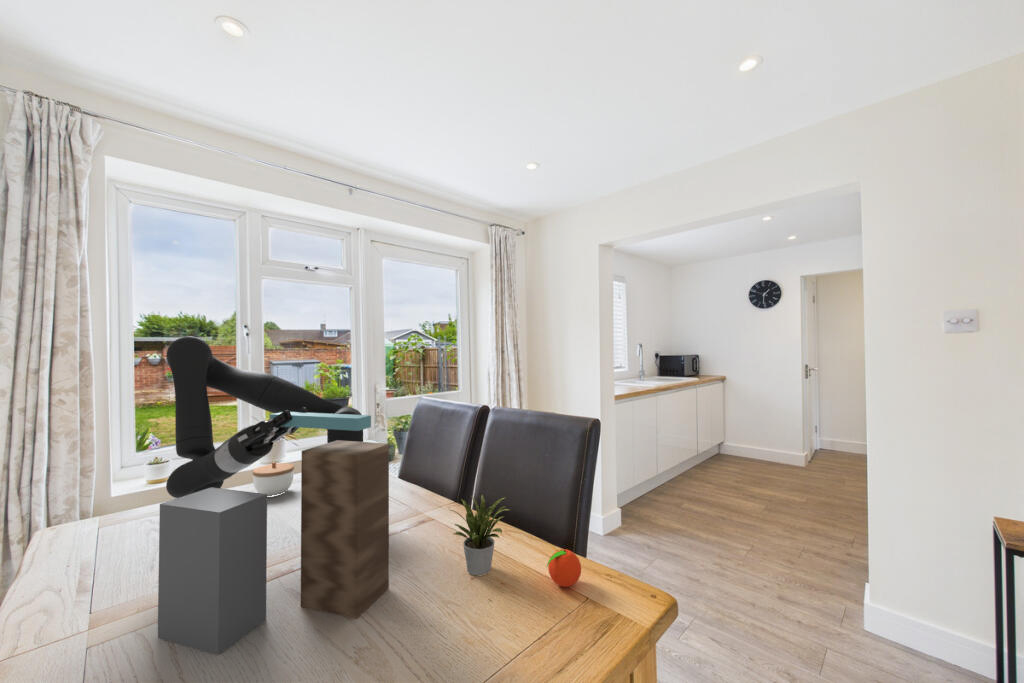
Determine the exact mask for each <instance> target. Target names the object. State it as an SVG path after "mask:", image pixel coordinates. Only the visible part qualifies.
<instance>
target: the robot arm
mask: <svg viewBox="0 0 1024 683" xmlns="http://www.w3.org/2000/svg"><path fill="white" fill-rule="evenodd" d="M165 359H166V361H167V363H168V366H169V368H170V370H171V371H170V372H171V374H172V380H173V386H174V397H175V398H174V400H175V402H174V403H175V404H174V405H175V422H174V424H175V425H174V426H175V452H176V455H177V456H178V457H180V458H182V459H189V460H190V461H187V462H185V463H183V464H181V465H179V466H178V467H177V468H175V469H174V470H173V471H172V472H171V473H170V475H169V477H168V478H167V481H166V485H165V486H166V487H165V488H166V491H167V493H168V494H169V496H171V497H172V498H173V499H177V498H180V497H183V496H186V495H189V494H192V493H195V492H199V491H202V490H205V489H208V488H211V487H212V488H221V489H222V487H223V484H224V482H225V480H227V479H229V478H231V477H232V476H234V475H235V474H237V473H239V472H240V471H242V470H244V469H246V468H249V467H250V466H251V465H253V464H254V463H256V462H258V461H259V460H260V459H262V458H263V457H265V456H266V455H268V454H269V453H270V452H271V451H272V449H273V446H274V443H276V442H277V441H279V440H280V439H281V438H282V437H283V436H285V435H287V434H289V435H293V434H294V433H295V432H297V430H299V429H301V427H284V426H283V425H284V424H286V423H287V422H289V421H290V420H292V416H291V413H290V412H305V413H328V414H350V415H363V414H362V413H361V412H360V410H358V409H357V408H353V407H351V406H347V405H344V404H340V403H338V402H335V401H331V400H328V399H325V398H323V397H321V396H319V395H316V394H315V393H313V392H310V391H309V390H307V389H305V388H303V387H301V386H299V385H297V384H295V383H293V382H291V381H288V380H286V379H285V378H281V377H279V376H277V375H274V374H271V373H268V372H263V371H255V370H249V369H248V370H247V369H243V368H238V367H235V366H234V365H233V366H232V365H230V364H229V363H226V362H224V361H222V360H221V359H219V358H217V357H215V356H214V355H213V351H212V349H211V347H210V345H209V344H208V342H206V341H205V340H203V339H202V338H199V337H197V336H190V335H188V336H182V337H179V338H177V339H175V340H174V341H173V342H171V343H170V344H169V346H168V347H167V350H166V358H165ZM208 388H211V389H215V390H216V391H217V390H218V391H220V392H222V393H225V394H227V395H230V396H232V398H233V397H234V398H235V399H238V400H240V401H243V402H245V403H247V404H250V405H252V406H254V407H256V408H259V409H262V410H264V411H266V412H269V413H270V414H274V413H280V412H282V413H281V414H279V415H278V416H276V417H275V418H271V419H270V418H269V419H268V420H266V421H265V420H261V421H259V422H257V423H255V424H251V425H248V426H246V427H244V428H242V429H241V430H239V431H238V432H236V433H234V435H232V436H231V437H229V438H228V439H226V440H225V441H224V442H222V444H220V445H219V446H218V447H217V448H216V447H215V445H214V438H213V437H214V436H213V422H212V421H213V420H212V414H211V408H210V402H209V397H208V396H209V394H208ZM326 431H327V433H326V435H327V436H326V437H327V439H326V440H327V441H326V442H327V443H330V442H333V441H337V440H342V441H357V442H364V429H363V430H359V431H353V430H335V429H326Z"/></svg>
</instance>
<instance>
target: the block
mask: <svg viewBox="0 0 1024 683" xmlns="http://www.w3.org/2000/svg"><path fill="white" fill-rule="evenodd" d="M281 413H282V412H280V413H270V414H269V419H271V418H275V417H276V416H278V415H279V414H281ZM290 413H291V416H292V420H290V421H289V422H287V423H286V424H284V425H283V426H284V427H300V429H301V428H303V429H306V428H307V429H321V430H327V429H335V430H353V431H359V430H363V431H364V430H366V429H371V427H372V415H369V414H362V415H350V414H328V413H305V412H290ZM283 426H282V427H283Z"/></svg>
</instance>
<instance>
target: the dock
mask: <svg viewBox="0 0 1024 683" xmlns="http://www.w3.org/2000/svg"><path fill="white" fill-rule="evenodd" d="M267 525H268V498H267V494H262V493H258V492H253V491H252V492H251V491H245V490H244V491H243V490H235V489H228V488H222V487H221V488H212V487H211V488H208V489H205V490H202V491H199V492H195V493H192V494H189V495H186V496H183V497H180V498H173V499H171V500H169V501H168V500H167V501H164V502H161V503H159V528H158V530H159V532H158V533H159V534H158V536H159V537H158V538H159V539H158V540H159V541H158V542H159V543H158V591H157V592H158V596H157V598H158V599H157V601H158V602H157V639H160V640H163V641H167V642H171V643H174V644H176V645H180V646H183V647H187V646H188V647H187V648H191V647H192V649H196V650H198V649H199V650H198V651H202V652H205V653H209V654H212V655H217V656H219V655H220V654H221V653H223V652H224V651H226V650H227V649H229V648H230V647H231V646H233V645H234V644H235V643H236V642H238V641H240V640H241V639H242V638H243V637H246V636H247V634H249V633H250V632H252V631H254V630H255V629H256V628H257V627H258V626H260V625H261V624H262V623H264V622H265V621H266V620H267V569H268V568H267V566H268V565H267V560H268V559H267V558H268V557H267V554H268V553H267V551H268V550H267V549H268V546H267V544H268V537H267V536H268V526H267Z"/></svg>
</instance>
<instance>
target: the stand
mask: <svg viewBox="0 0 1024 683" xmlns="http://www.w3.org/2000/svg"><path fill="white" fill-rule="evenodd" d="M389 450H390V444H389V443H387V442H386V443H385V442H369V441H368V442H367V441H363V442H357V441H342V440H337V441H333V442H330V443H323V444H320V445H317V446H314V447H310V448H307V449H303V450H301V474H300V476H301V488H300V489H301V490H300V491H301V492H300V494H301V497H300V498H301V500H300V501H301V502H300V504H301V505H300V508H301V509H300V511H301V512H300V515H301V516H300V607H302V608H305V609H310V610H315V611H319V612H325V613H327V614H328V613H329V614H335V615H338V616H342V617H345V618H346V617H347V618H352V619H355V620H357V619H359V617H361V616H362V615H363V614H364V613H365V612H366V611H368V609H369V608H371V606H373V604H375V602H377V600H379V599H380V598H381V597H382V596H383V595H384V594H385V593H386V592H387V591H388V590H389V589H390V587H389V586H390V583H389V582H390V578H389V577H390V576H389V575H390V568H389V567H390V560H389V559H390V550H389V549H390V548H389V547H390V544H389V543H390V540H389V539H390V537H389V536H390V530H389V528H390V525H389V524H390V523H389V522H390V518H389V517H390V514H389V513H390V508H389V507H390V495H389V494H390V491H389V490H390V479H389V477H390V468H389V466H390V462H389V461H390V457H389V456H390V451H389Z"/></svg>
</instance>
